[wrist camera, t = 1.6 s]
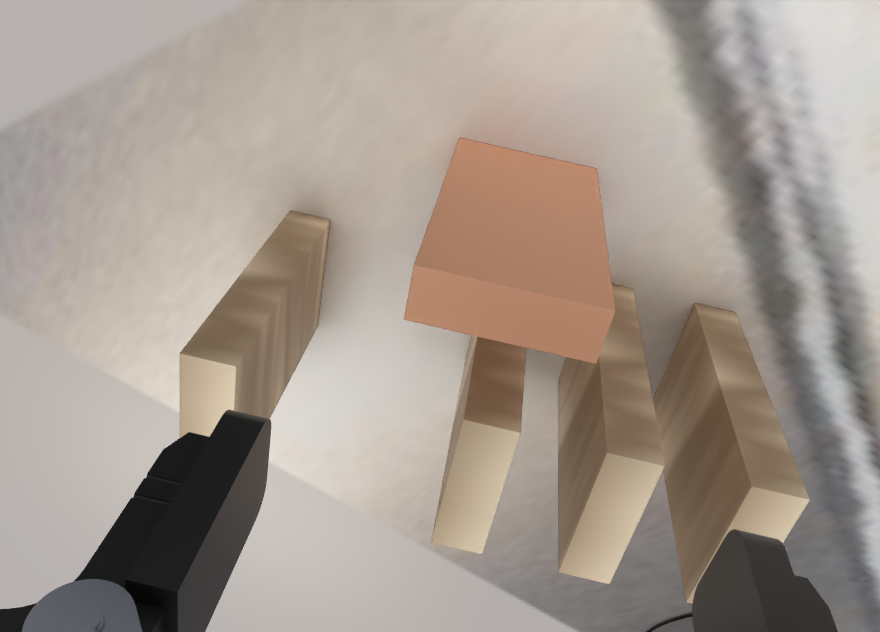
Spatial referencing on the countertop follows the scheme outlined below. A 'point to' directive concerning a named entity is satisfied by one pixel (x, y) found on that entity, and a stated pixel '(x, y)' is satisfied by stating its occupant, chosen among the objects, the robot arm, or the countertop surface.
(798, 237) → the countertop surface
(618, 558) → the domino
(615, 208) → the countertop surface
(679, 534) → the domino
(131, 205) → the countertop surface
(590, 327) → the domino
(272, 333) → the domino
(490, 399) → the domino
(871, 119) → the countertop surface
